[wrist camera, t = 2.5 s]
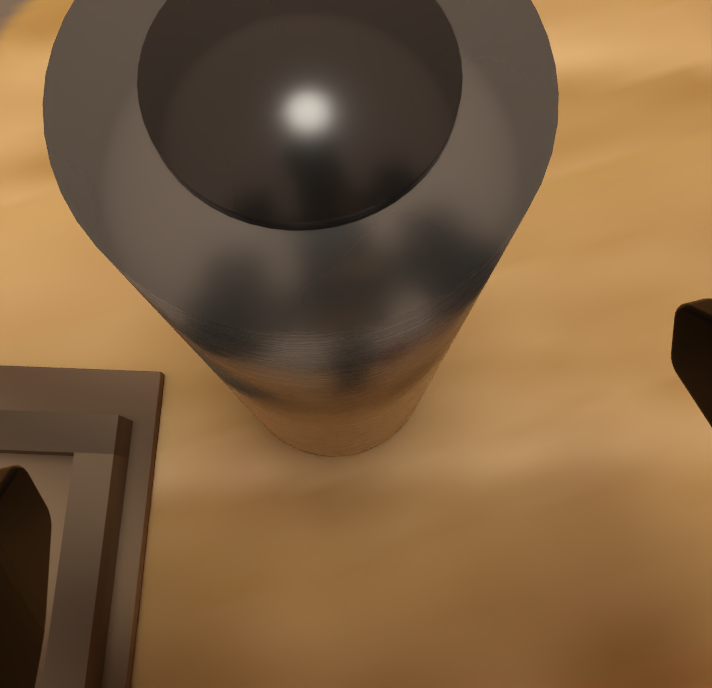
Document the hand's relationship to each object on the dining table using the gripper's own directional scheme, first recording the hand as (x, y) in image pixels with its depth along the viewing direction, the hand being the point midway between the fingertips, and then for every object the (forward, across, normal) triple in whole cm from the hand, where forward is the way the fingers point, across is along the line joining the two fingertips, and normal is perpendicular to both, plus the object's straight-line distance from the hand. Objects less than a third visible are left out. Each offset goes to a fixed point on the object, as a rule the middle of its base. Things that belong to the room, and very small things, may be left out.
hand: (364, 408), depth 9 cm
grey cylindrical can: (+9, 0, +5) cm, 10 cm away
